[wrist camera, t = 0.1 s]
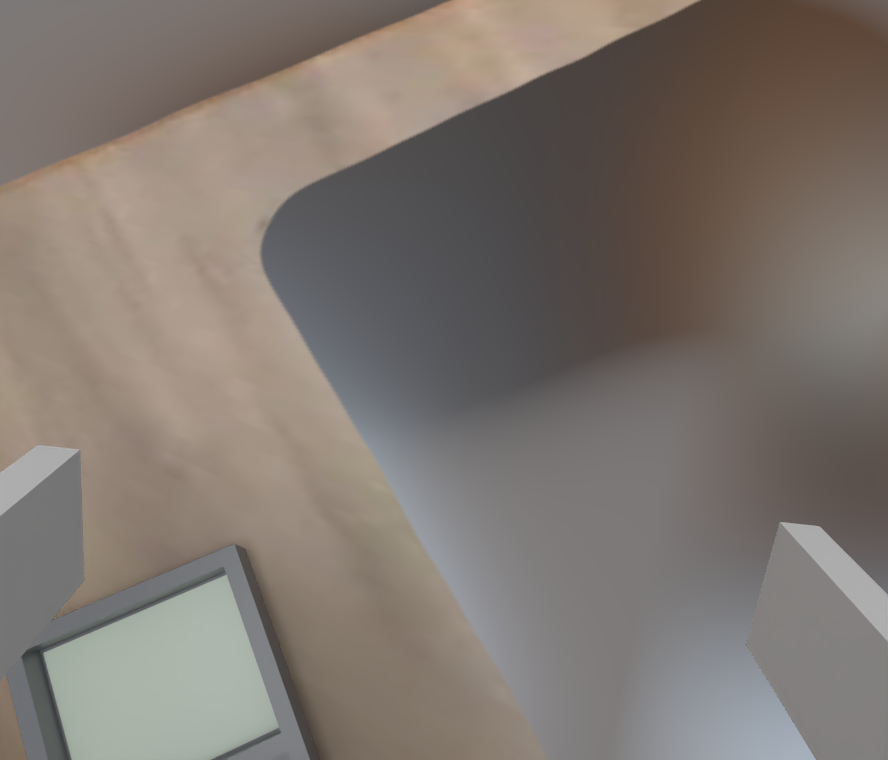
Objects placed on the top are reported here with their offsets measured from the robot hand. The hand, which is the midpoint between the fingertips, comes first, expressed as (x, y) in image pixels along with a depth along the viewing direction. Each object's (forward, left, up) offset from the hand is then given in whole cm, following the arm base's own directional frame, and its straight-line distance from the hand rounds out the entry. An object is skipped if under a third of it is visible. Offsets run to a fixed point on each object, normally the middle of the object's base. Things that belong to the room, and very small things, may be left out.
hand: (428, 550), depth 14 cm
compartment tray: (-4, +15, -36) cm, 39 cm away
